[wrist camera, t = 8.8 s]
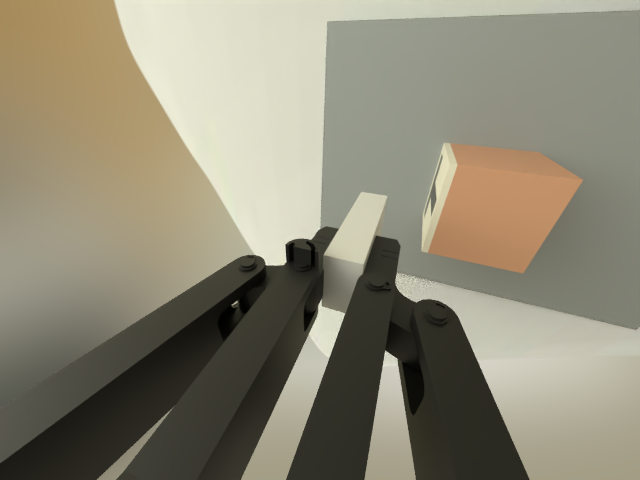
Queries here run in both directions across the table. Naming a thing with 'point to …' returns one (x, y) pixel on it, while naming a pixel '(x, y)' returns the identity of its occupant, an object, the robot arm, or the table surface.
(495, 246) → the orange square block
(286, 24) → the table surface
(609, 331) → the table surface
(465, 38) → the mat
